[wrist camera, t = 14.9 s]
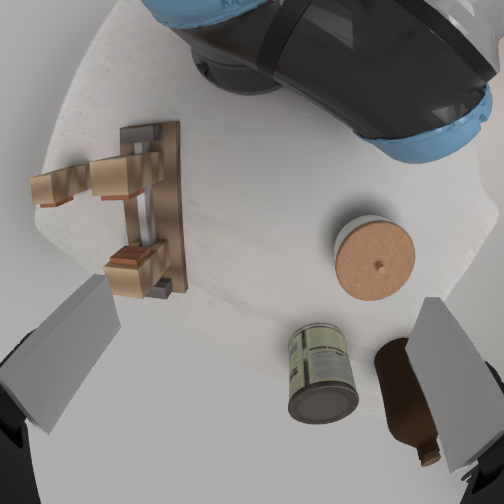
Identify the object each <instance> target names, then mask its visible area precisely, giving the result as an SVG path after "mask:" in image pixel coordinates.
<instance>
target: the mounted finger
mask: <svg viewBox="0 0 504 504" xmlns="http://www.w3.org/2000/svg"><path fill="white" fill-rule="evenodd" d="M89 165H90V178H91V189H92V196H101V200H102V201H103V200H130V199H132V198H134V197H136V196H138V195H140V194H142V193H144V192H145V189H144V188H145V187H147V186H150V185H152V184H154V183H157V182H159V181H161V180H164V156H163V151H155V152H149V153H143V154H135V153H131V154H126V155H120V156H115V157H110V158H105V159H101V160H96V161H92V162H89Z"/></svg>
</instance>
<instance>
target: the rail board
mask: <svg viewBox="0 0 504 504" xmlns="http://www.w3.org/2000/svg"><path fill="white" fill-rule="evenodd" d="M155 151H163V156H164V180H161V181H159V182H157V183H154V184H152V185H150V186H147V187H145V188H144V189H145V192H144V193H142V194H140V195H138V196H136V197H134V198H132V199H130V200H124V210H125V219H126V227H127V235H128V242H129V245H130V244H131V243H132V242H134V241H135V240H136V239H137V238H141V240H142V247H150V248H151V247H152V246H153V245H154V244H155V243H156V242H157V241H158V240H159V239H166V240H168V243H169V254H170V263H171V264H170V265H169V267H168V268H167V269H166V270H165V272H164V273H163V274H162V275H161V277H160V278H159V279H158V280H157V282H156V283H155V284H154V286H153V287H152V288H151V289H150V291H149V292H148V293H147V295H146V296H145V297H152V298H159V299H167V298H168V297H169V295H170V294H171V292H177V293H186V291H187V289H188V285H187V274H186V263H185V251H184V237H183V222H182V202H181V175H180V122H165V123H155V124H146V125H138V126H131V127H124V128H120V154H121V155H126V154H131V153H135V154H143V153H149V152H155Z"/></svg>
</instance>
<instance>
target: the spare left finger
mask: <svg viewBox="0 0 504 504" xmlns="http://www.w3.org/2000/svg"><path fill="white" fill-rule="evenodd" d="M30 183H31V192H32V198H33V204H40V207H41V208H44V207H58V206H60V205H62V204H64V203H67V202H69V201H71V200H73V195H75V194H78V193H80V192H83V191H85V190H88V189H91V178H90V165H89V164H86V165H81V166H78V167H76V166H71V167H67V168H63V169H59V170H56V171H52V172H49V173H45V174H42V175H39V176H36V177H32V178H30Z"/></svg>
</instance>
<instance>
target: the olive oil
mask: <svg viewBox="0 0 504 504" xmlns="http://www.w3.org/2000/svg"><path fill="white" fill-rule="evenodd" d="M408 340H409V339H407V338H402V339H397V340H394V341H392V342H390V343H388V344H386V345H385V346H384V347H383V348H382V349H381V350H380V351H379V352H378V353H377V355H376V357H375V361H374V363H375V368H376V372H377V376H378V379H379V383H380V388H381V392H382V397H383V402H384V407H385V413H386V418H387V424H388V428H389V431H390V432H391V434H392V435H393V437H394V438H395V439H396V440H398V441H400V442H402V443H405V444H408V445H410V446H413V447H415V448H416V449H417V451H418V456H419V460H421V466H422V467H425V466H429V465H431V464H433V463H435V462H437V461H438V460H439V459H440V458H441V456H440V454H439V451H440V449H439V446H438V444H437V441H436V438H437V436H438V431H437V428H436V425H435V422H434V419H433V417H432V414H431V411H430V408H429V406H428V403H427V400H426V398H425V395H424V392H423V390H422V387H421V385H420V382H419V380H418V378H417V375H416V373H415V370H414V368H413V366H412V363H411V361H410V359H409V356H408V354H407V352H406V350H405V347H406V345H407V343H408Z"/></svg>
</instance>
